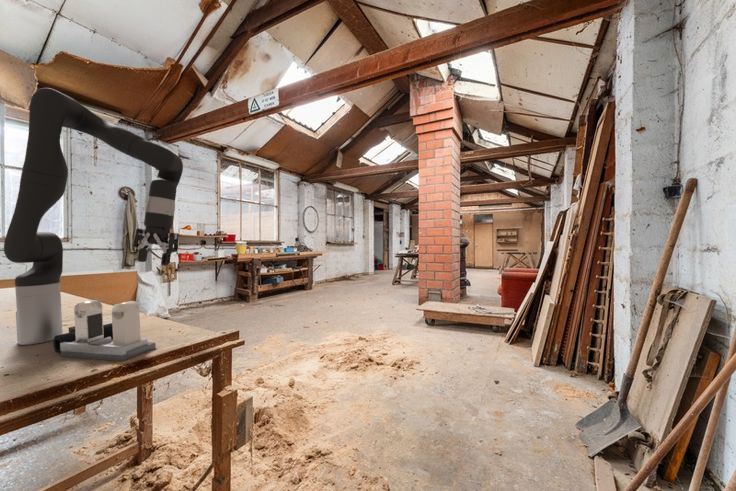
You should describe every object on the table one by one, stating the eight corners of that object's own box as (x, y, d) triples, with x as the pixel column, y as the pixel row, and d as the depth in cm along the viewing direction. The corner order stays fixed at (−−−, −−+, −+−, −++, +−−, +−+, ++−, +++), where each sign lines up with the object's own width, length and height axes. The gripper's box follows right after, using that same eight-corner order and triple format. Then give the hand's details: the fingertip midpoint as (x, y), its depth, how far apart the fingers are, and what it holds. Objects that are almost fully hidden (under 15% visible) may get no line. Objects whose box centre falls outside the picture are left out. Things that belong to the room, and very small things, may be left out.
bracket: (60, 356, 78) (58, 305, 78) (98, 344, 87) (96, 298, 86) (122, 361, 74) (119, 306, 73) (155, 347, 83) (153, 299, 82)
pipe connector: (42, 330, 85) (107, 317, 98) (43, 349, 85) (107, 333, 98) (61, 336, 80) (126, 321, 93) (62, 356, 80) (127, 338, 93)
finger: (112, 349, 78) (110, 303, 77) (128, 344, 82) (126, 300, 81) (125, 350, 77) (123, 304, 76) (140, 345, 81) (138, 301, 80)
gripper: (130, 208, 93) (123, 260, 93) (169, 213, 90) (162, 266, 90) (151, 212, 100) (145, 260, 100) (188, 216, 98) (182, 266, 97)
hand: (153, 263), depth 95 cm, fingers open, 8 cm apart
